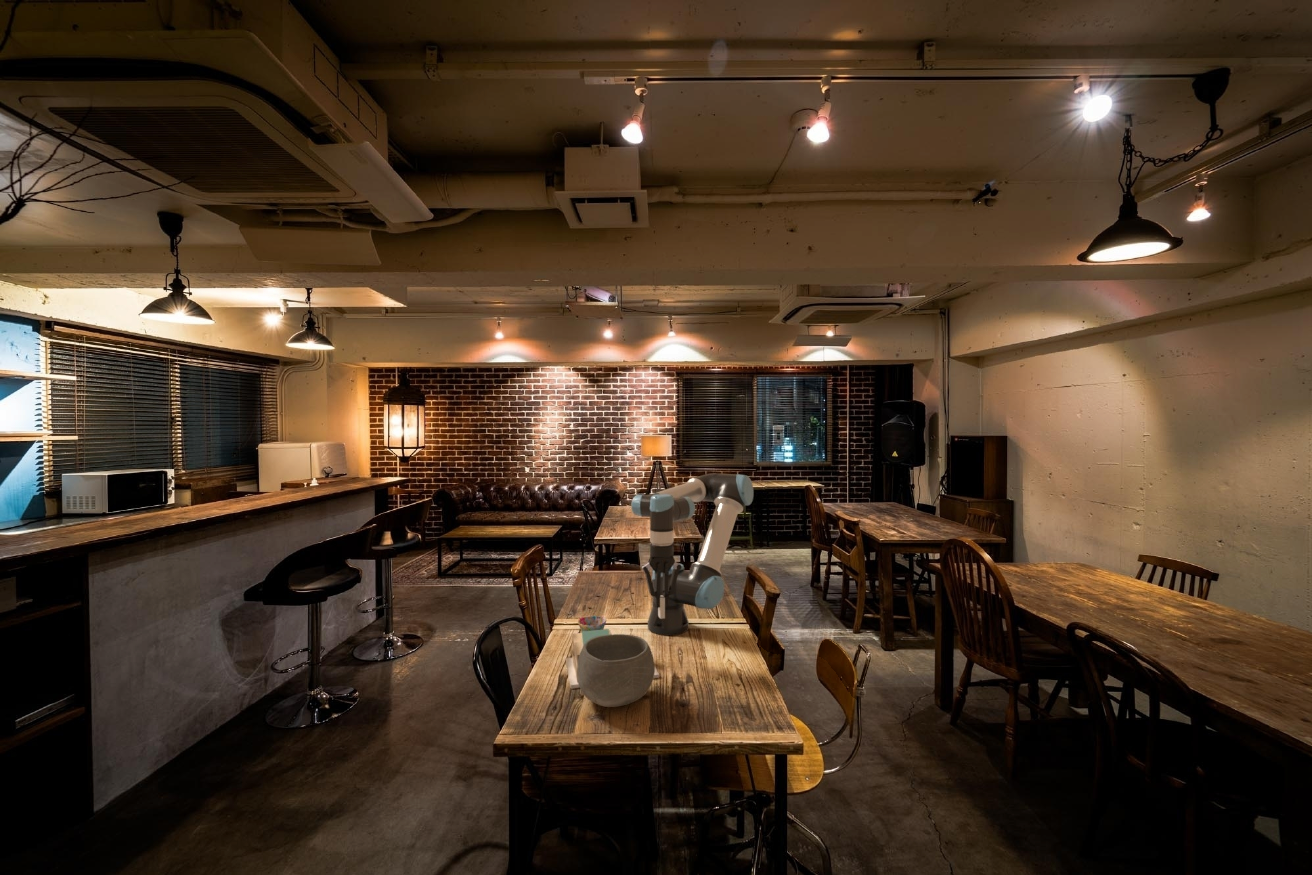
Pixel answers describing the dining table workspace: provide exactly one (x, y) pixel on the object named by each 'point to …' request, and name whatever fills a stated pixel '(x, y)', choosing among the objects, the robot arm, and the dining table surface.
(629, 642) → the bowl
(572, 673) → the block
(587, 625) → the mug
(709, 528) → the robot arm
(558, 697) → the dining table surface
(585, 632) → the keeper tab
